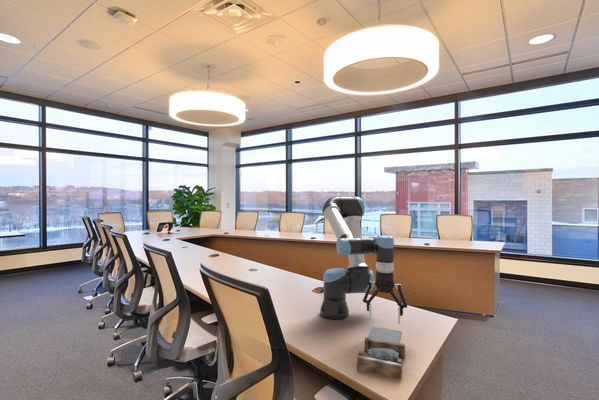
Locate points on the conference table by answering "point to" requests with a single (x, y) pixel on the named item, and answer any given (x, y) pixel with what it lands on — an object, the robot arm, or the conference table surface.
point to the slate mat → (385, 335)
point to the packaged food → (384, 354)
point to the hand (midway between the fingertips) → (384, 320)
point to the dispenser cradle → (381, 365)
